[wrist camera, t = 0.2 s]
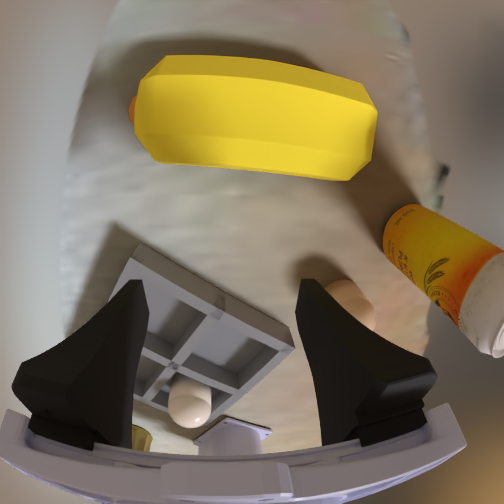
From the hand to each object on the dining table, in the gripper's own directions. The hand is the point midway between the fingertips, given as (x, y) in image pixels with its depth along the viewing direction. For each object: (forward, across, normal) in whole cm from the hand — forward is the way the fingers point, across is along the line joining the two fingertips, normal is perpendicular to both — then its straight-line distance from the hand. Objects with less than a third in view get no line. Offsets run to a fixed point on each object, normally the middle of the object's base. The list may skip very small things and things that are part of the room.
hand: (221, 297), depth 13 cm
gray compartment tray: (+9, +5, +14) cm, 17 cm away
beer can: (+10, -17, +2) cm, 20 cm away
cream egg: (+7, +4, +19) cm, 20 cm away
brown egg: (+9, -11, +9) cm, 17 cm away
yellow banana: (+12, -2, -7) cm, 14 cm away
